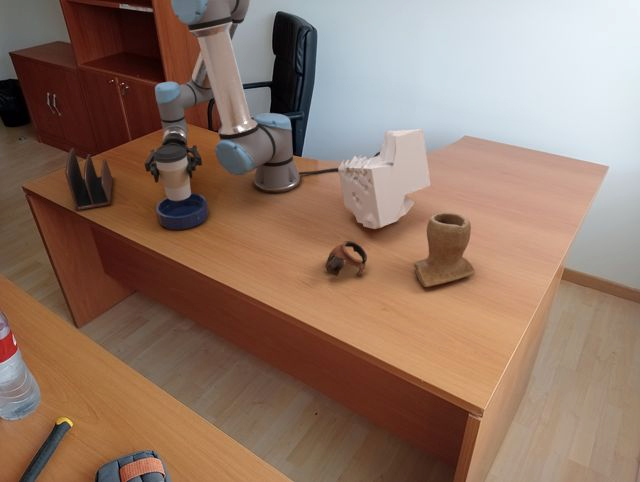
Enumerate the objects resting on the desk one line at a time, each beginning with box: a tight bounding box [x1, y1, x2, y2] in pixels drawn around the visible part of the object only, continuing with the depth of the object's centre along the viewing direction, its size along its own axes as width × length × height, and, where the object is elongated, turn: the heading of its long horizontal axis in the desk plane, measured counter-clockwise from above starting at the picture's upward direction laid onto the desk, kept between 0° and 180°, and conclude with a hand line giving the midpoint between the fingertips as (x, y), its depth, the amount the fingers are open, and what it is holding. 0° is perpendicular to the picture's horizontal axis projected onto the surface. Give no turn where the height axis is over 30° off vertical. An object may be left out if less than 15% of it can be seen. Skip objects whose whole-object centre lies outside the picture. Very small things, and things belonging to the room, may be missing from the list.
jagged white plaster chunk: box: [337, 128, 431, 230], centre depth 137 cm, size 20×16×25 cm
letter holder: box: [64, 147, 113, 211], centre depth 157 cm, size 10×20×14 cm, turn 17°
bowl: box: [155, 192, 210, 231], centre depth 145 cm, size 15×15×4 cm
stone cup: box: [413, 212, 475, 288], centre depth 117 cm, size 15×12×15 cm
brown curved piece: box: [325, 240, 368, 277], centre depth 121 cm, size 12×10×8 cm
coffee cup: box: [154, 143, 192, 201], centre depth 138 cm, size 9×9×15 cm
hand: (173, 176), depth 134 cm, fingers closed on coffee cup, 9 cm apart
